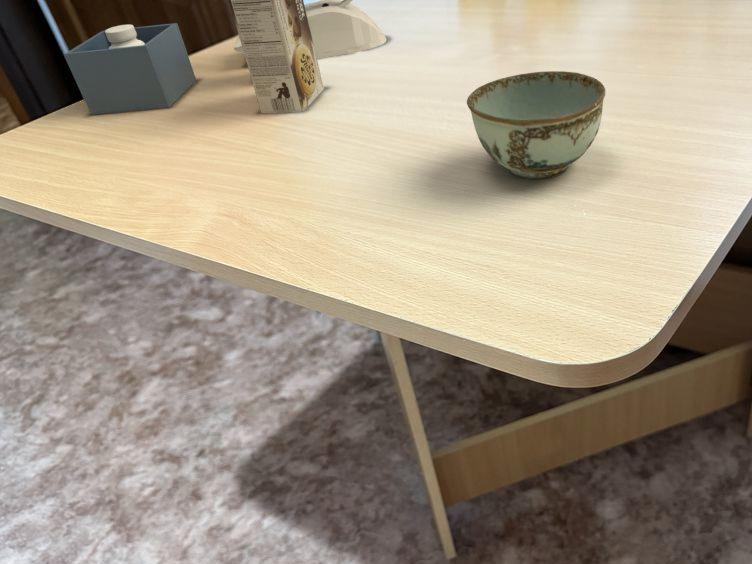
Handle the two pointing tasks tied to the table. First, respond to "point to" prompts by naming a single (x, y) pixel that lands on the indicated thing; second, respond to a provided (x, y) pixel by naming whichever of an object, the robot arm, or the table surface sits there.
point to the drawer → (132, 71)
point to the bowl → (537, 120)
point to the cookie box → (278, 53)
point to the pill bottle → (123, 36)
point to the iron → (338, 29)
